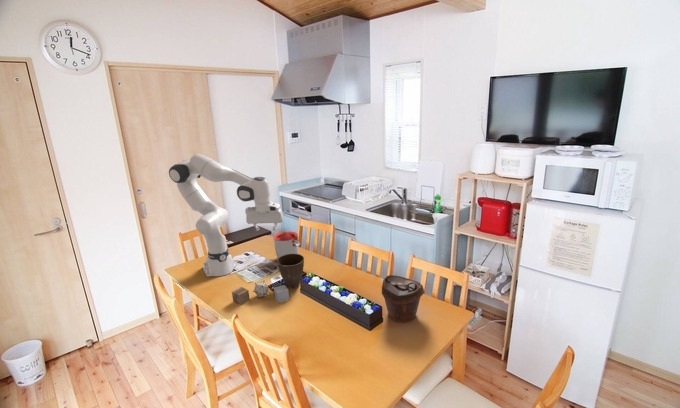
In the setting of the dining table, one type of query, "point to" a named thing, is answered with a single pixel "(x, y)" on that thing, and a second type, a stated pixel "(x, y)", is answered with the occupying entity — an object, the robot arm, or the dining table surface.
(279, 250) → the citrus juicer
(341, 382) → the dining table surface
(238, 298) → the walnut block
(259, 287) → the grey spiky ball
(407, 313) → the dark brown lidded bucket
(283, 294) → the grey block
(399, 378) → the dining table surface
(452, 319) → the dining table surface
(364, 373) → the dining table surface
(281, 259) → the plant pot
